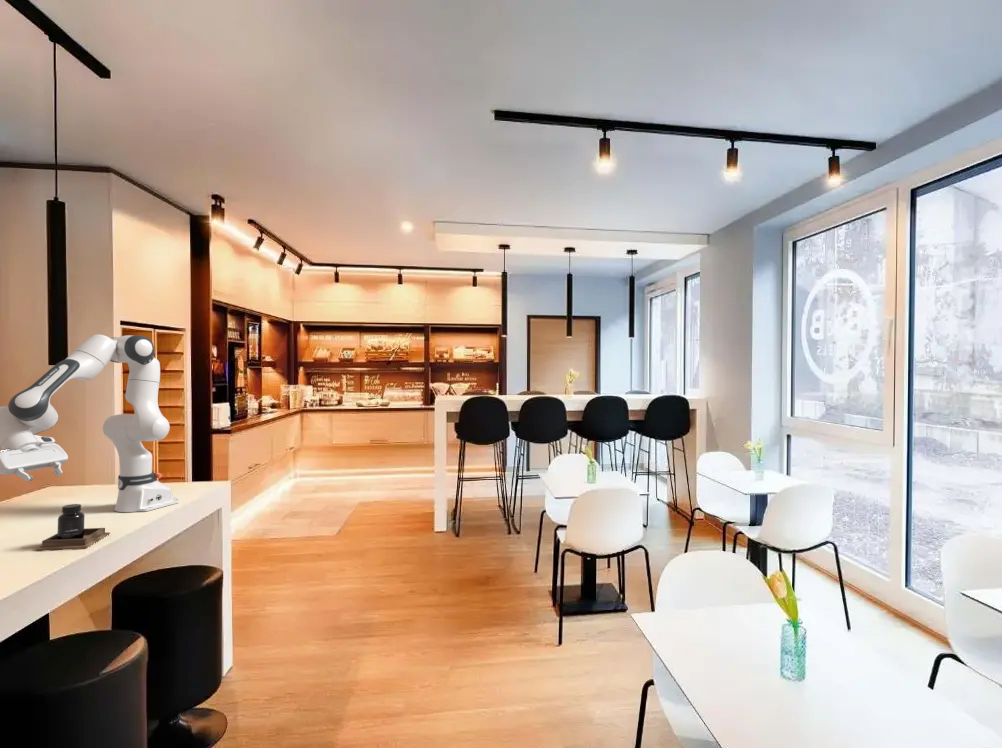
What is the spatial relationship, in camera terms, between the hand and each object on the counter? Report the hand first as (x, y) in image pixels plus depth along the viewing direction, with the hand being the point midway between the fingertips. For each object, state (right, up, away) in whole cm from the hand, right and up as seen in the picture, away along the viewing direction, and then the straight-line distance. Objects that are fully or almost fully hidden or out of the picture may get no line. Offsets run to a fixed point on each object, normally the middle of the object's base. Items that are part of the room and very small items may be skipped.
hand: (45, 477), depth 173 cm
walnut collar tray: (+12, -22, -2) cm, 25 cm away
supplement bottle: (+11, -21, -3) cm, 24 cm away
